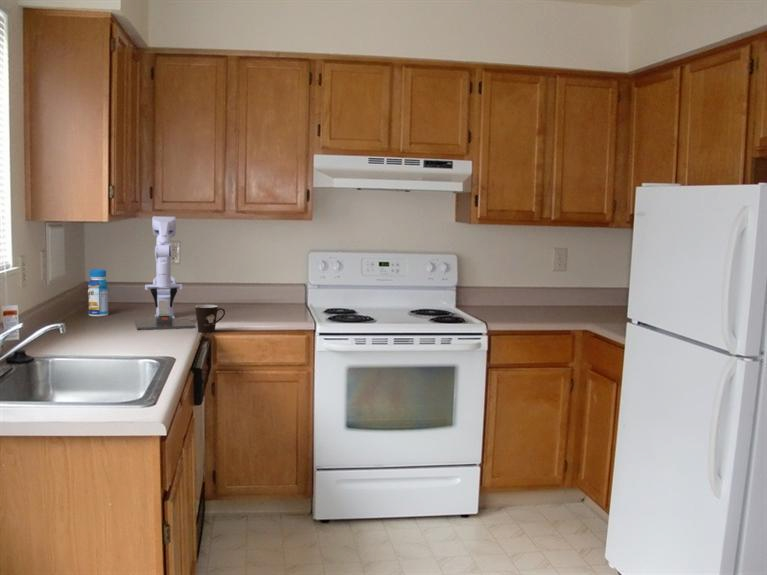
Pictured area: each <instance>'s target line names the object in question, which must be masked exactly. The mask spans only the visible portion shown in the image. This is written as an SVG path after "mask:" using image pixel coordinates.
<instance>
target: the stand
mask: <svg viewBox="0 0 767 575" xmlns="http://www.w3.org/2000/svg"><path fill="white" fill-rule="evenodd" d="M133 320H134V325H135V328H136V330H137V331H150V330H151V331H152V330H154V331H155V330H182V329H195V328H196V326H195V324H194V323H193V321H192V319H190V318H189V317H175V318H172V316H171V315H169V316H156V318H140V319H139V318H137V319H133Z"/></svg>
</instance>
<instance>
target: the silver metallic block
mask: <svg viewBox="0 0 767 575" xmlns="http://www.w3.org/2000/svg"><path fill="white" fill-rule="evenodd" d="M159 316H169V300H159Z"/></svg>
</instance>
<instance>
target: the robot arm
mask: <svg viewBox="0 0 767 575" xmlns="http://www.w3.org/2000/svg"><path fill="white" fill-rule="evenodd" d="M151 220H152V222H151V223H152V226H151V227H152V233H153V237H156V239H155V240H156V244H155V246H154V257H155V265H156V267H155V271H156V274H155V275H156V276H155V277H154V278H153V280H152V284H145V285H144V290H145V291H150V293H151V295H152V297H153V300H154V303H155V305H154V306H155V309H156V311H155V313H156V314H154V315H153V316H154V317H155V318H154V319H156V316H159V300H169V315H171V316H172V318H176V316H175V314H174V300H175V297H176V296H177V293H178V290H183V284H182V283H179V284H178V283H177V279H176V278H175V277H174V276H173V275H172V260H171V259H172V256H173V255H172V254H173V248H172V242H171V241H172V238H173V237H175V236H176V233H177V232H176V231H177V218H176V216H175V215H173V216H159V215H158V216H155V215H153V216H152V219H151Z"/></svg>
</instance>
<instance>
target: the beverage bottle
mask: <svg viewBox="0 0 767 575" xmlns="http://www.w3.org/2000/svg"><path fill="white" fill-rule="evenodd" d="M106 277H107V270H106V269H100V268H99V269H96V268H95V269H90V270H89V278H90V280H89V281H88V284H87V287H88V290H87V295H88V316H90V317H105V316H108V315H109V289H108V286H109V284H108V282H107V280H106Z"/></svg>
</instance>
